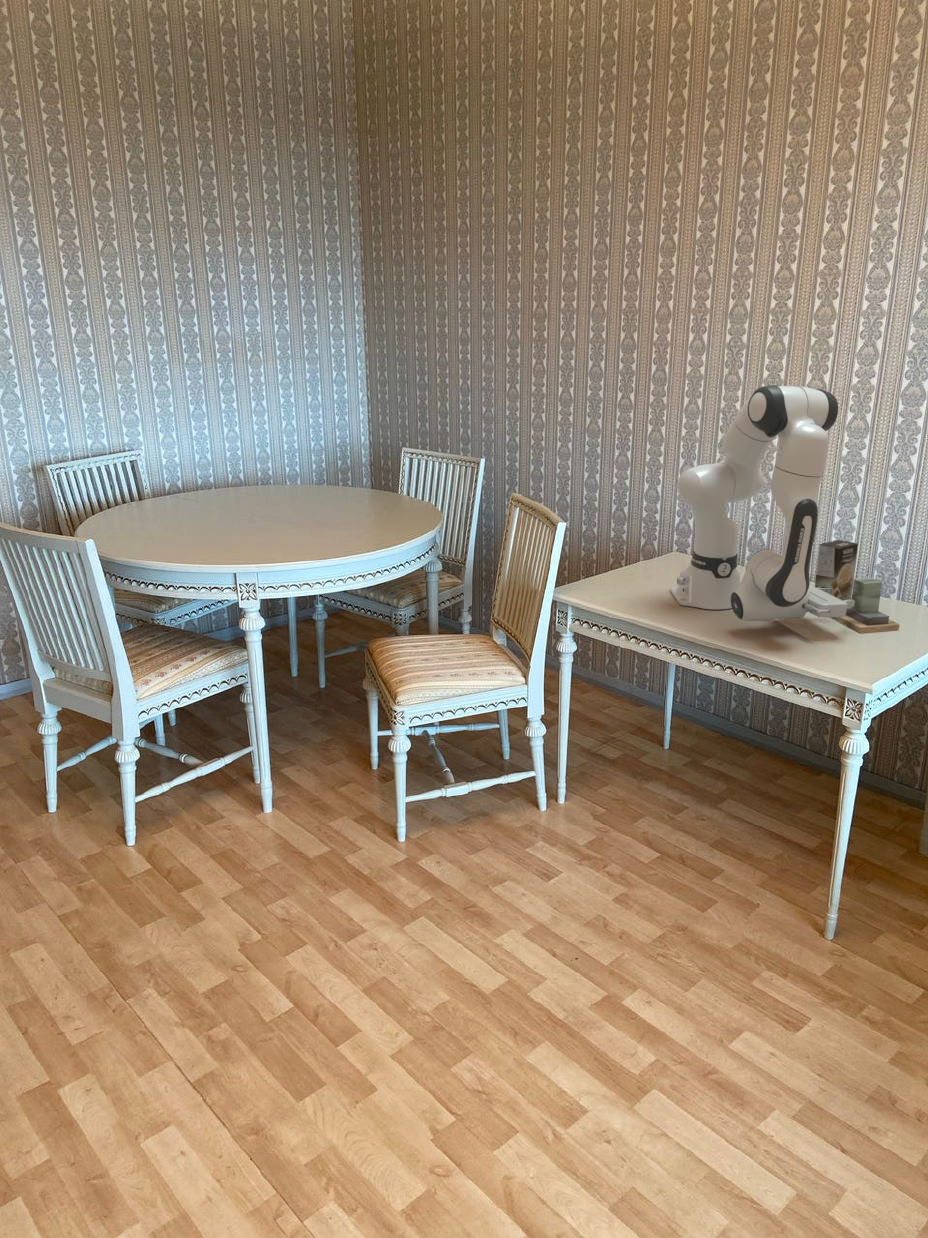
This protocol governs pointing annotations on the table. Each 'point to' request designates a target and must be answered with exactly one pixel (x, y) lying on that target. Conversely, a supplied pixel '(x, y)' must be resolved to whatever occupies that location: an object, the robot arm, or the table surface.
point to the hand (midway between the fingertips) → (842, 597)
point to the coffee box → (836, 567)
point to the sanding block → (867, 602)
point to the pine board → (864, 628)
